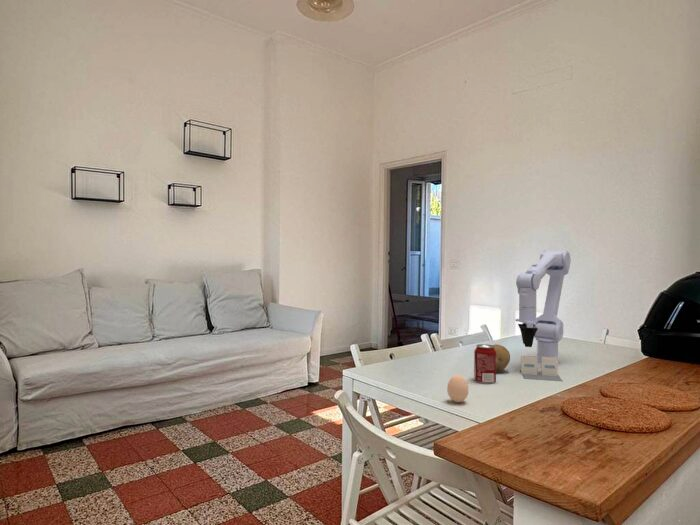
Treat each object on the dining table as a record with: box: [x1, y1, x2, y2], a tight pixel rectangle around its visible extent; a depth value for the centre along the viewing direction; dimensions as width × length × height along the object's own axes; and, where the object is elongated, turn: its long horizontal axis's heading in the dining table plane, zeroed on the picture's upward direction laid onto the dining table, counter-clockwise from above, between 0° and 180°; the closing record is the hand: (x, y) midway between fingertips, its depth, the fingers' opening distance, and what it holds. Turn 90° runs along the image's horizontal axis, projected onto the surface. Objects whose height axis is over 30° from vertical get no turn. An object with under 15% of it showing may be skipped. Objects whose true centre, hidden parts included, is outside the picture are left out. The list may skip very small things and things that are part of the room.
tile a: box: [520, 355, 538, 375], centre depth 157 cm, size 2×5×6 cm, turn 75°
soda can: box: [473, 343, 497, 385], centre depth 148 cm, size 7×7×12 cm
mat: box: [519, 369, 564, 382], centre depth 155 cm, size 12×12×1 cm
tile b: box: [540, 357, 559, 376], centre depth 156 cm, size 2×5×6 cm, turn 75°
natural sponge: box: [492, 344, 511, 373], centre depth 161 cm, size 9×9×10 cm
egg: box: [446, 374, 469, 403], centre depth 127 cm, size 6×6×8 cm
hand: (527, 345), depth 162 cm, fingers open, 5 cm apart
